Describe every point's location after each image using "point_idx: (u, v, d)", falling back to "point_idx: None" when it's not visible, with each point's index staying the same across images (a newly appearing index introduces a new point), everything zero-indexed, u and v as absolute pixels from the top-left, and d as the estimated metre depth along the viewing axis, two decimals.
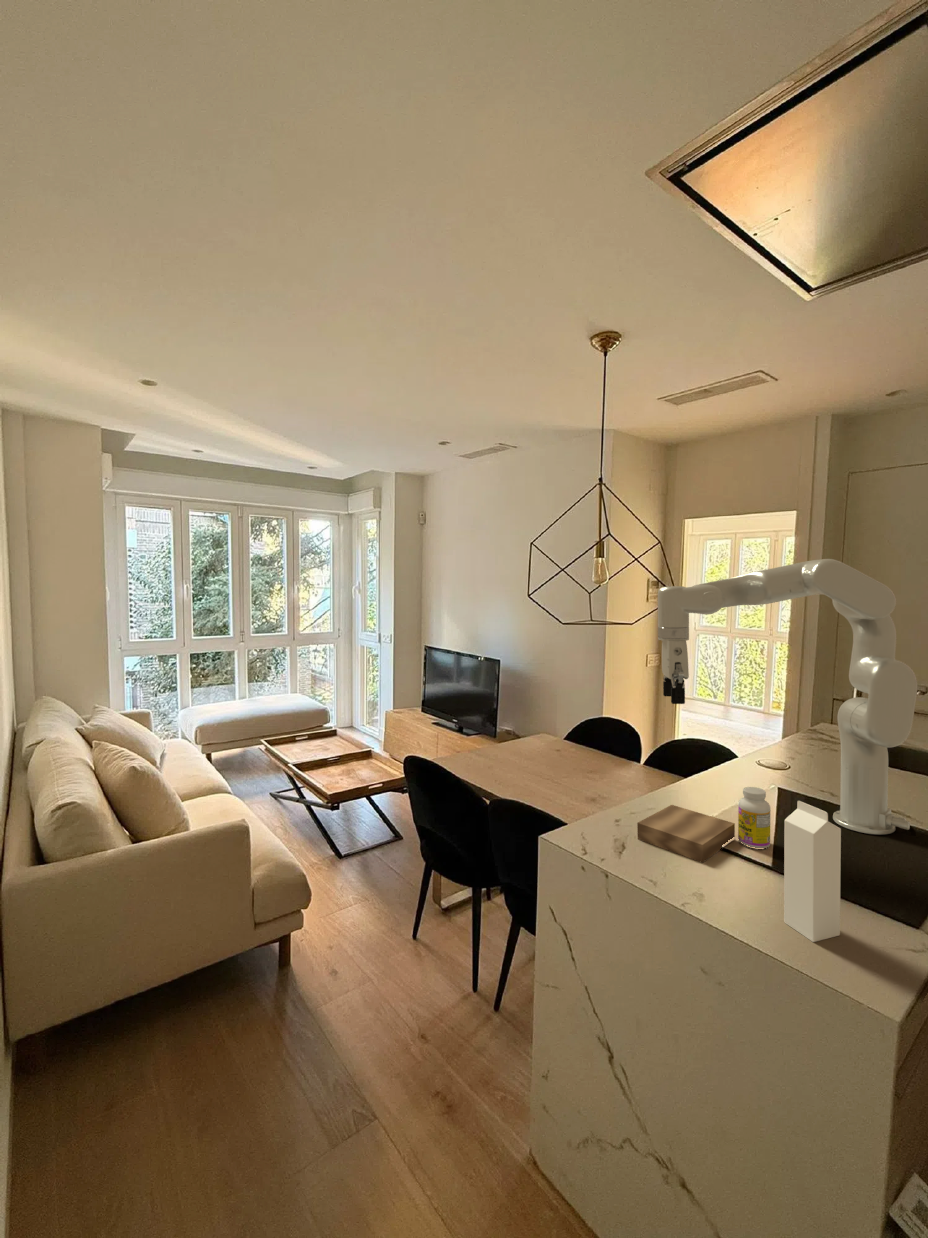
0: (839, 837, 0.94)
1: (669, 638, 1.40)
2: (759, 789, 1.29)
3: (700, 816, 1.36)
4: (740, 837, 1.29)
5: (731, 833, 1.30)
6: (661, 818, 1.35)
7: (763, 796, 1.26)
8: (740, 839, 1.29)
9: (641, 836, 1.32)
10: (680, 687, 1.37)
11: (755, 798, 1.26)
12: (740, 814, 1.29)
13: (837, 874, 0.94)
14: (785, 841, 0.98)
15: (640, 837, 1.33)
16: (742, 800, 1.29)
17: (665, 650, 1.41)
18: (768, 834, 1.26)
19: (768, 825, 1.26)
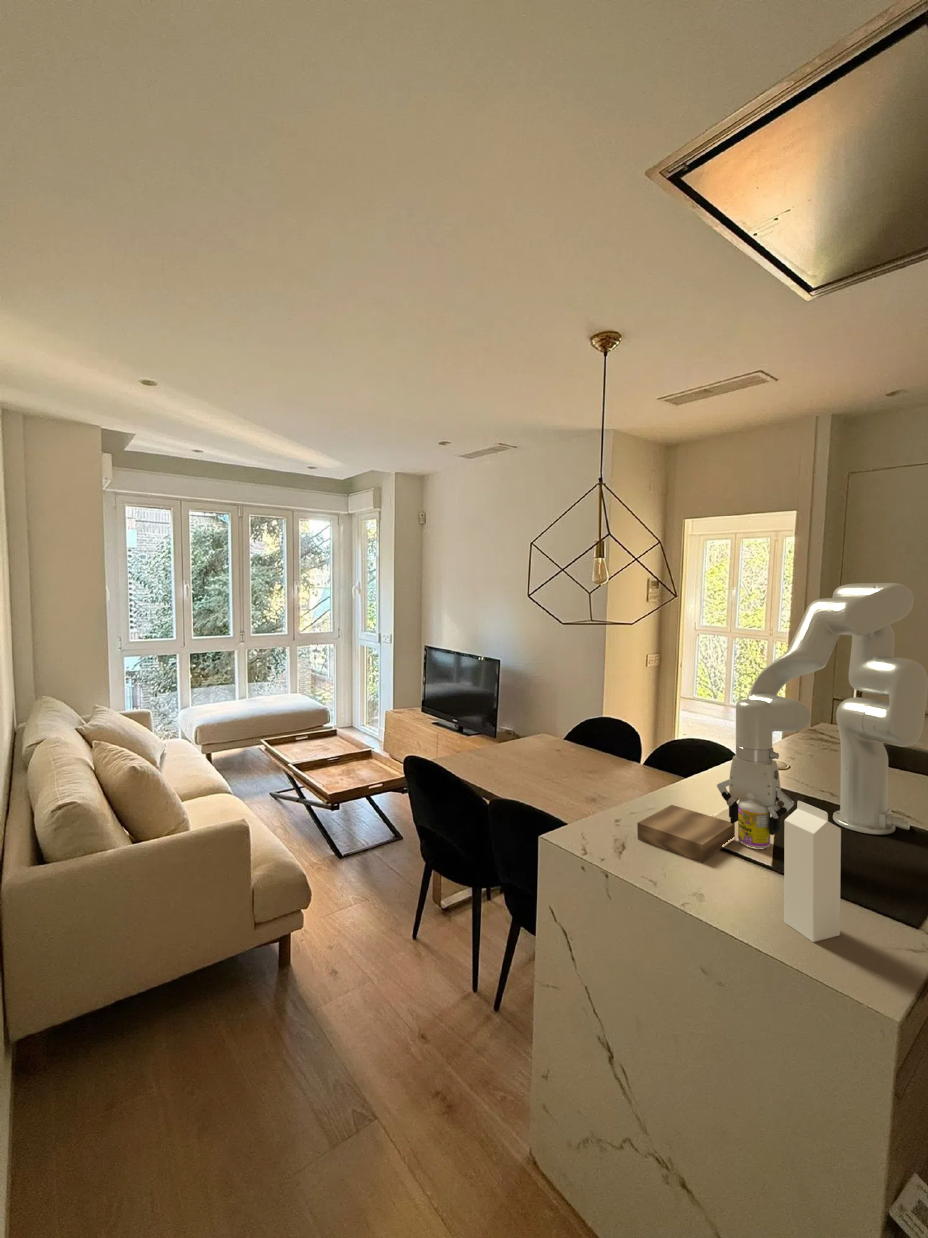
0: (839, 837, 0.94)
1: (766, 761, 1.25)
2: None
3: (700, 816, 1.36)
4: (740, 837, 1.29)
5: (731, 833, 1.30)
6: (661, 818, 1.35)
7: None
8: (740, 839, 1.29)
9: (641, 836, 1.32)
10: None
11: None
12: (740, 814, 1.29)
13: (837, 874, 0.94)
14: (785, 841, 0.98)
15: (640, 837, 1.33)
16: (742, 800, 1.29)
17: (759, 774, 1.25)
18: (768, 834, 1.26)
19: (768, 825, 1.26)
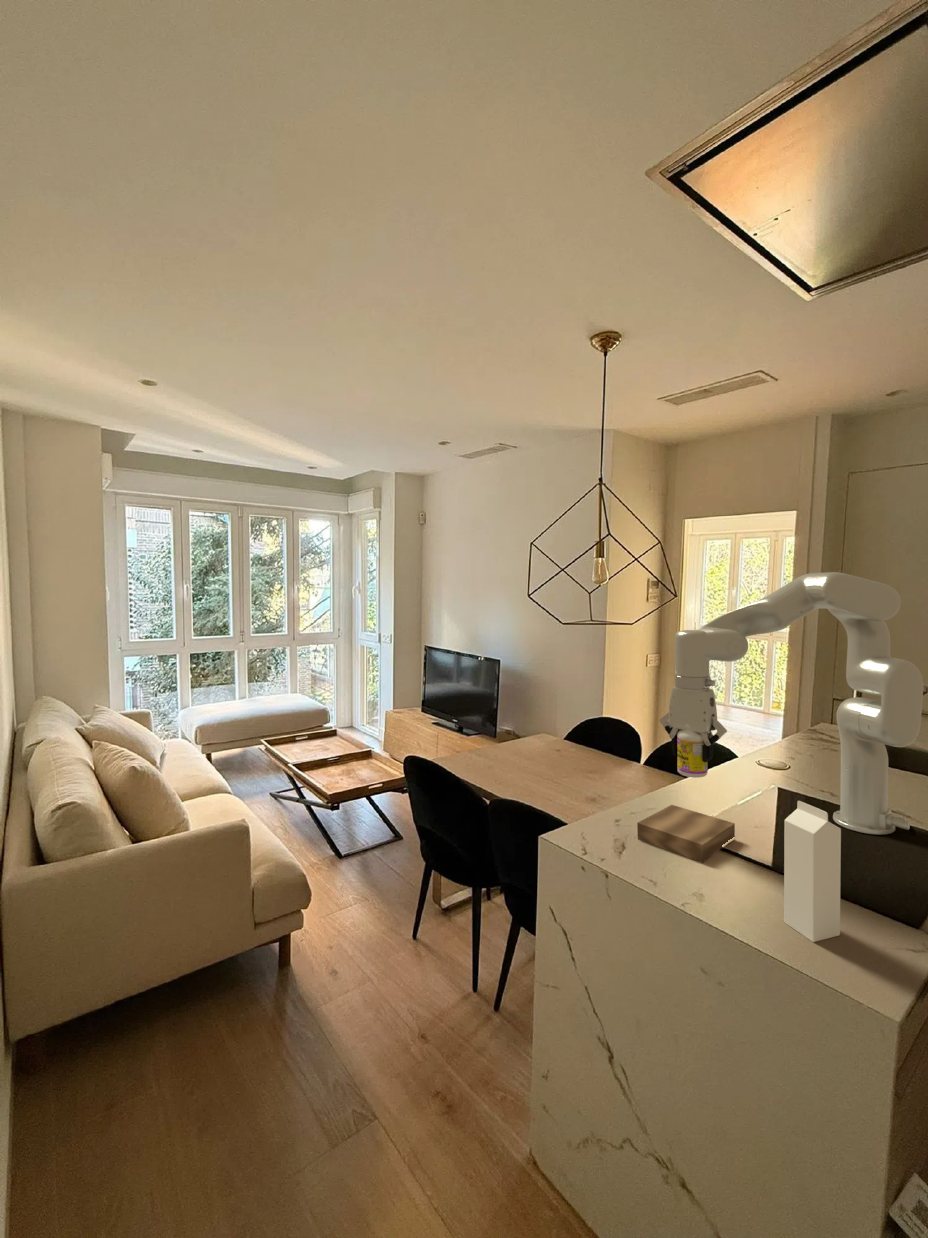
0: (839, 837, 0.94)
1: (702, 688, 1.27)
2: None
3: (700, 816, 1.36)
4: (678, 767, 1.31)
5: (731, 833, 1.30)
6: (661, 818, 1.35)
7: None
8: (678, 769, 1.31)
9: (641, 836, 1.32)
10: (713, 743, 1.27)
11: None
12: (678, 744, 1.31)
13: (837, 874, 0.94)
14: (785, 841, 0.98)
15: (640, 837, 1.33)
16: (680, 730, 1.31)
17: (695, 702, 1.27)
18: (705, 762, 1.28)
19: None
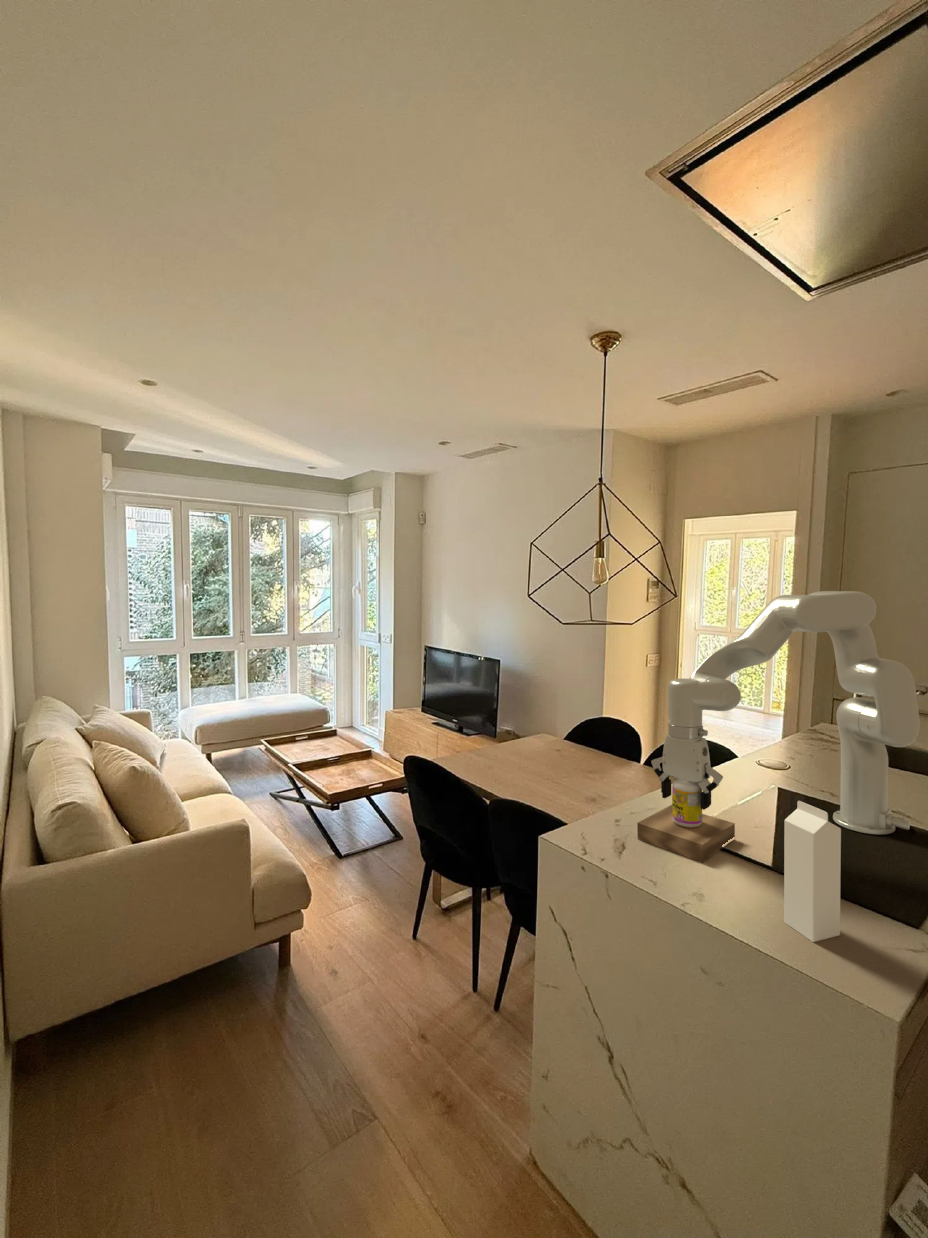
0: (839, 837, 0.94)
1: (695, 738, 1.28)
2: None
3: None
4: (673, 816, 1.32)
5: (731, 833, 1.30)
6: (661, 818, 1.35)
7: None
8: (673, 818, 1.32)
9: (641, 836, 1.32)
10: (711, 790, 1.27)
11: None
12: (673, 793, 1.32)
13: (837, 874, 0.94)
14: (785, 841, 0.98)
15: (640, 837, 1.33)
16: (675, 780, 1.32)
17: (688, 751, 1.28)
18: (699, 812, 1.29)
19: (699, 804, 1.29)
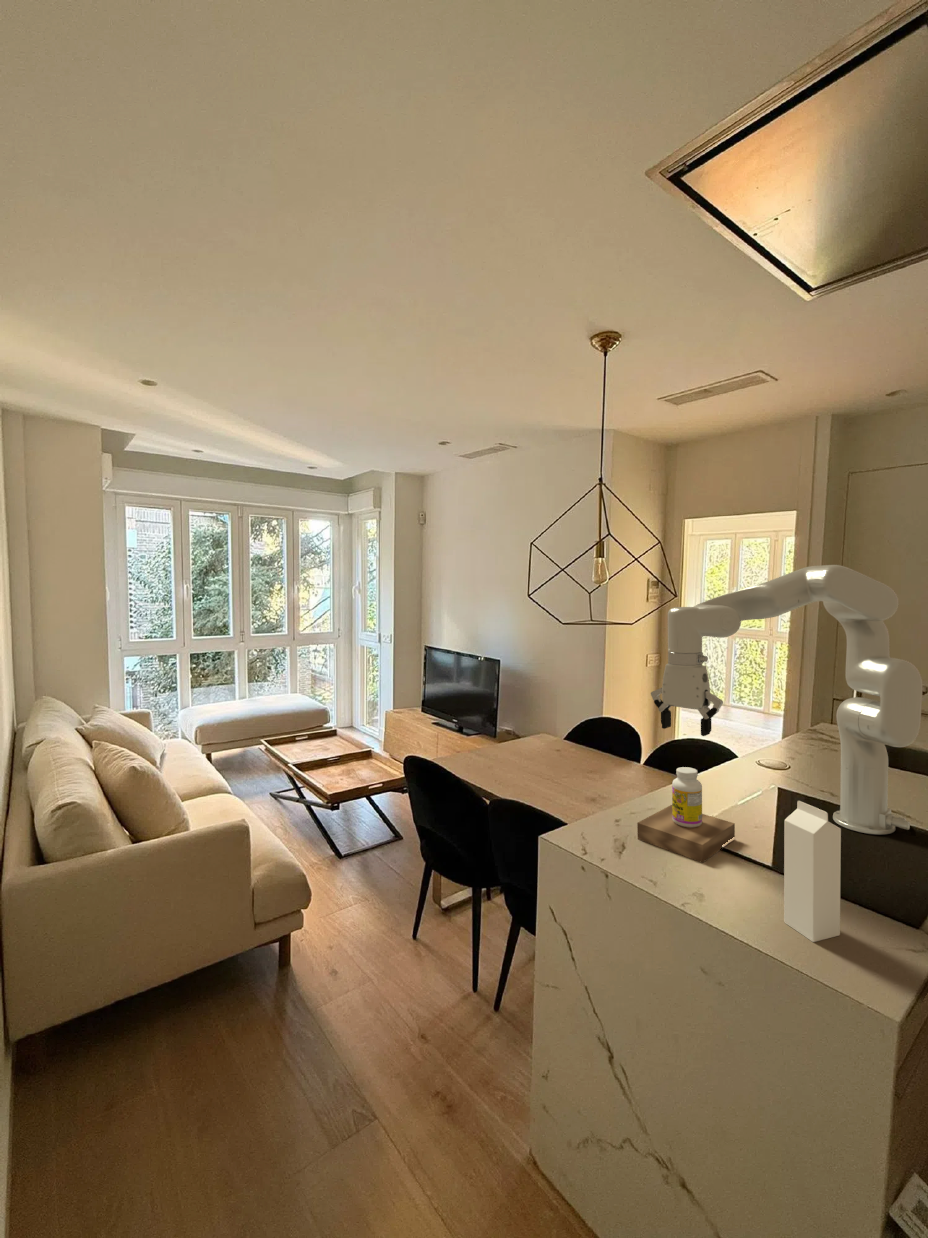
0: (839, 837, 0.94)
1: (695, 664, 1.27)
2: (692, 769, 1.32)
3: None
4: (673, 816, 1.32)
5: (731, 833, 1.30)
6: (661, 818, 1.35)
7: (694, 775, 1.30)
8: (673, 818, 1.32)
9: (641, 836, 1.32)
10: (711, 716, 1.26)
11: (687, 778, 1.30)
12: (673, 793, 1.32)
13: (837, 874, 0.94)
14: (785, 841, 0.98)
15: (640, 837, 1.33)
16: (675, 780, 1.32)
17: (688, 678, 1.27)
18: (699, 812, 1.29)
19: (699, 804, 1.29)
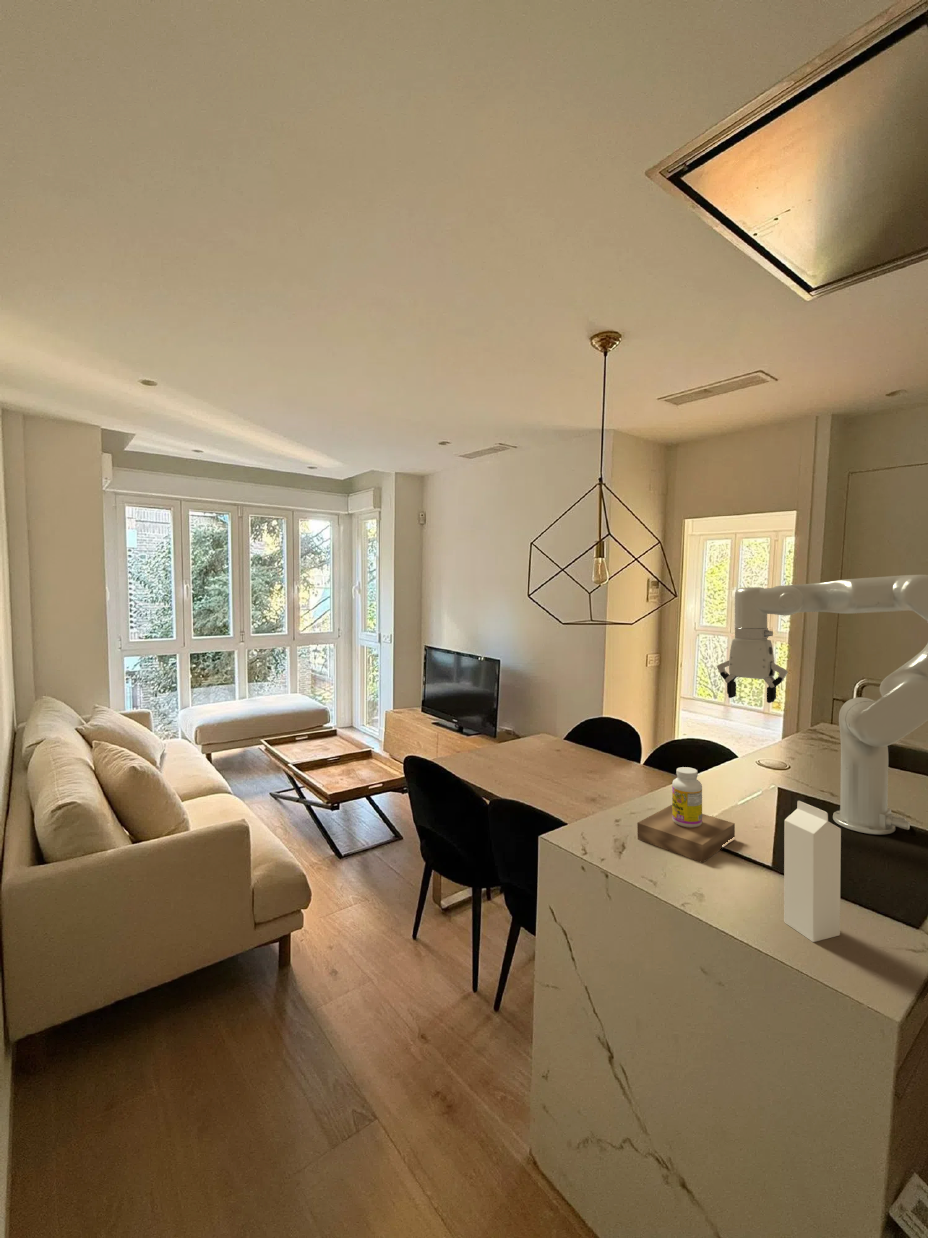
0: (839, 837, 0.94)
1: (761, 638, 1.41)
2: (692, 769, 1.32)
3: None
4: (673, 816, 1.32)
5: (731, 833, 1.30)
6: (661, 818, 1.35)
7: (694, 775, 1.30)
8: (673, 818, 1.32)
9: (641, 836, 1.32)
10: (776, 685, 1.41)
11: (687, 778, 1.30)
12: (673, 793, 1.32)
13: (837, 874, 0.94)
14: (785, 841, 0.98)
15: (640, 837, 1.33)
16: (675, 780, 1.32)
17: (755, 651, 1.41)
18: (699, 812, 1.29)
19: (699, 804, 1.29)
